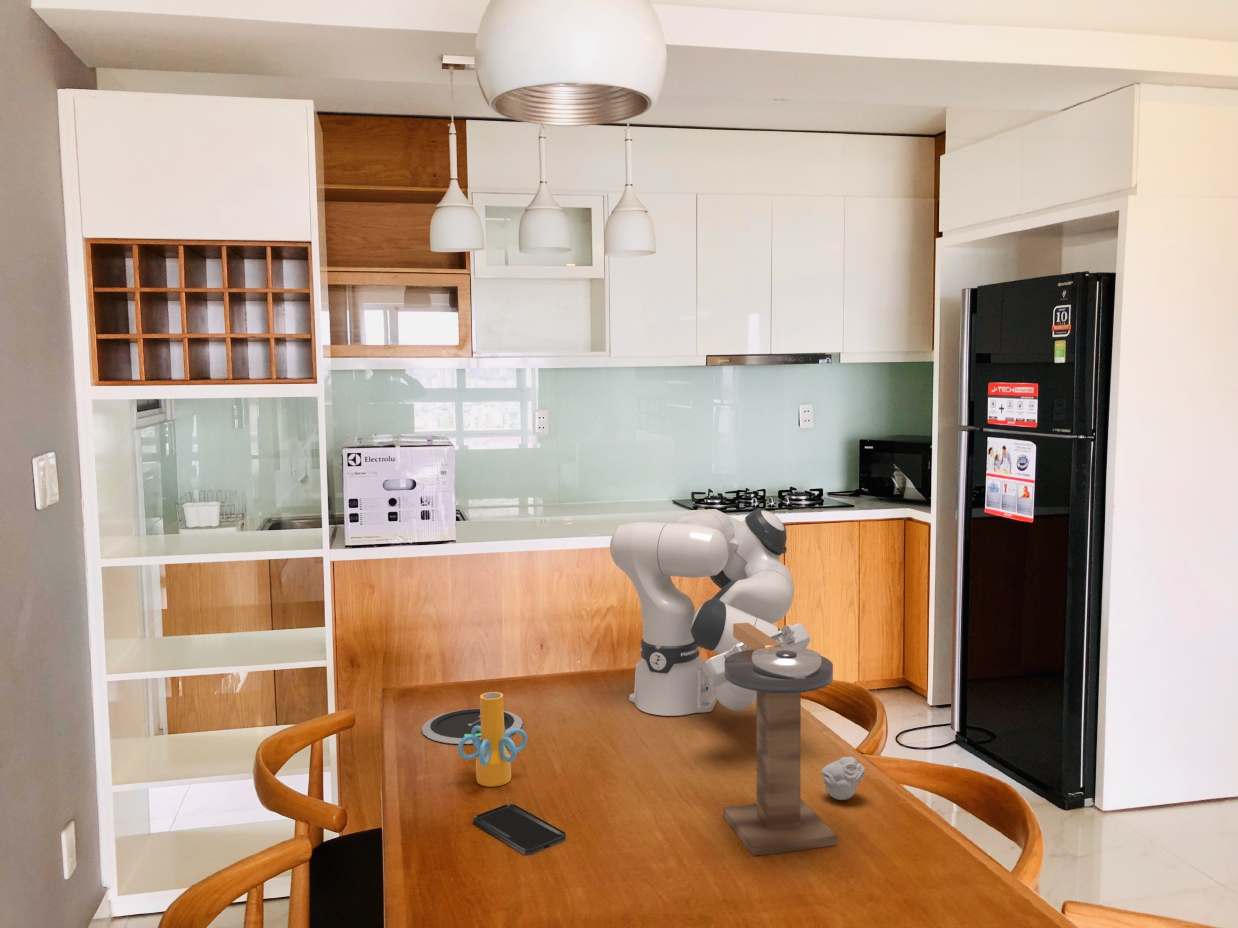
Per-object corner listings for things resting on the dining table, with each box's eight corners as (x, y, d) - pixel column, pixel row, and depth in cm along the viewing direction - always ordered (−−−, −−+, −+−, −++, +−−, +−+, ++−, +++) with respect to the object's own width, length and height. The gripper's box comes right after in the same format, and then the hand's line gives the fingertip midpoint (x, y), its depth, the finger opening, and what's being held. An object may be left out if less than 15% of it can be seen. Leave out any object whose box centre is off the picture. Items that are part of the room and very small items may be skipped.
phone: (511, 802, 154) (568, 834, 143) (511, 809, 154) (569, 841, 143) (469, 817, 149) (526, 851, 138) (469, 824, 149) (526, 859, 138)
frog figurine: (863, 809, 151) (864, 766, 151) (818, 804, 154) (819, 762, 153) (865, 793, 157) (865, 752, 157) (822, 788, 159) (822, 748, 159)
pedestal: (711, 813, 151) (710, 652, 148) (805, 802, 154) (805, 644, 152) (747, 862, 135) (747, 683, 133) (851, 848, 139) (852, 674, 137)
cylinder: (512, 797, 158) (509, 709, 156) (452, 792, 160) (450, 705, 158) (533, 768, 170) (531, 686, 168) (477, 764, 172) (475, 683, 170)
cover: (712, 638, 157) (711, 624, 157) (768, 633, 159) (768, 620, 159) (767, 681, 134) (767, 665, 133) (832, 675, 136) (833, 660, 136)
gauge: (524, 742, 183) (524, 737, 182) (418, 749, 180) (418, 744, 180) (520, 708, 202) (520, 703, 202) (425, 713, 200) (424, 709, 199)
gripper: (691, 670, 176) (704, 642, 164) (787, 633, 182) (806, 603, 170) (706, 701, 173) (720, 675, 161) (803, 662, 179) (823, 634, 167)
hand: (765, 638), depth 166 cm, fingers open, 8 cm apart
